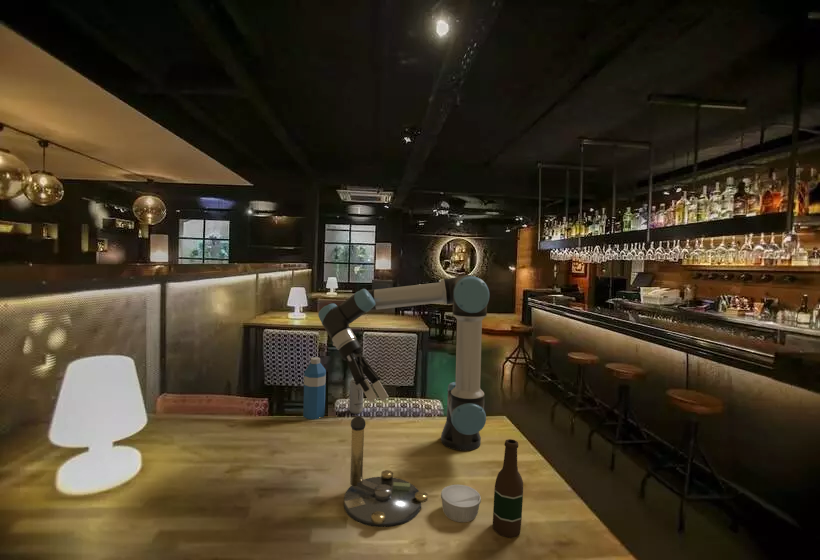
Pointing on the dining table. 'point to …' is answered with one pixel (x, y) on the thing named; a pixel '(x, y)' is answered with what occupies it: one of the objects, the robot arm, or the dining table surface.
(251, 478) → the dining table surface
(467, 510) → the ramekin
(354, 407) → the energy drink can
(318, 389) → the water bottle
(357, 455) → the ball topped crank handle
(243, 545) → the dining table surface
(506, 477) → the beer bottle
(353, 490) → the plate
